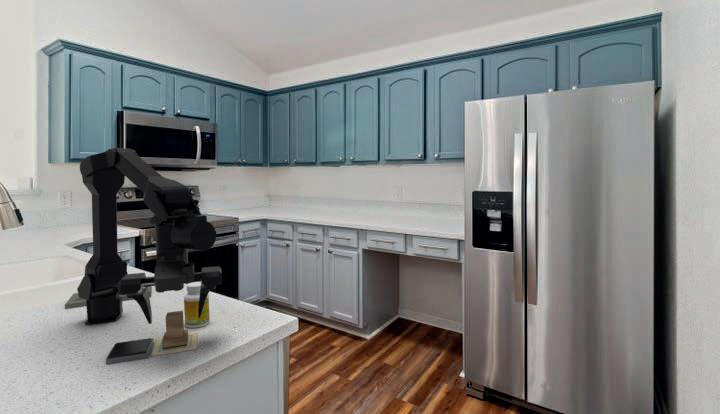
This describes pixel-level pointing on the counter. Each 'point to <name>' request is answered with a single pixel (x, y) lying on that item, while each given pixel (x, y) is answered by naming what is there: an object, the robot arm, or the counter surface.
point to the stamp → (174, 331)
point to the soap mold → (79, 302)
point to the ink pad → (130, 351)
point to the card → (190, 346)
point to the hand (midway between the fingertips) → (175, 320)
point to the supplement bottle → (195, 307)
